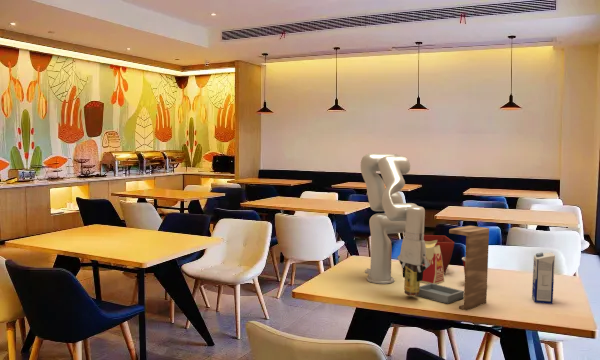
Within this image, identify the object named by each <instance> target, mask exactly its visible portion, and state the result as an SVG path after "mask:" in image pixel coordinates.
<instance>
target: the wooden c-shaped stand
mask: <svg viewBox="0 0 600 360" xmlns="http://www.w3.org/2000/svg"><path fill="white" fill-rule="evenodd" d="M448 233H449V234H453V235H461V236H465V254H464V255H465V256H464V257H465V273H464V285H463V286H464V289H463V291H464V298H463V304H461V305H459V308H458V309H460V310H463V311H468V310H469V311H470V310H471V309H475V308H477V307H480V306H483V305H485V304H487V292H488V291H487V290H488V269H489V241H490V228H489V227H482V226H477V225H476V226H475V225H465V226H460V227H459V226H458V227H455V228H450V229H449V230H448Z"/></svg>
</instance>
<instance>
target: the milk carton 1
mask: <svg viewBox="0 0 600 360" xmlns="http://www.w3.org/2000/svg"><path fill="white" fill-rule="evenodd" d="M425 246H426V259H427V260H428V262H429V263H430V266H429V267H427V269H425V271H423V279H422V281H420V283H423V284H430V283H433V284H437V285H440V284H442V283H445V274H444V270H443V262H442V256H441V251H440V245H439V244H438V243H437V240H435V241H425ZM424 265H425V264H423V266H424Z"/></svg>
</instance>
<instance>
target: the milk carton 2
mask: <svg viewBox="0 0 600 360" xmlns="http://www.w3.org/2000/svg"><path fill="white" fill-rule="evenodd" d="M555 256H556V255H555V254H554V253H553V252H545V253H544V252H538V253H535V255H533V269H532V289H531V290H532V291H531V298H532V299H531V300H533V302H534V303H537V304H547V305H553V302H554V285H555V284H554V283H555V279H554V278H555V263H556V257H555Z"/></svg>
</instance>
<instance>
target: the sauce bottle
mask: <svg viewBox="0 0 600 360" xmlns="http://www.w3.org/2000/svg"><path fill="white" fill-rule="evenodd" d="M417 272H418V268H417V266H416V265H412V264H409V263H406V265H405V278H404V282H403V283H404V284H403V287H404V288H403V289H404V292H403V293H404V294H405V295H407V296H408V297H409V296H412V297H413V296H414V297H415V296H416V297H417V295H418V294H419V288H420V286H421V285H420V284H421V282H420V281H419V282H418V281H417Z"/></svg>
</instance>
